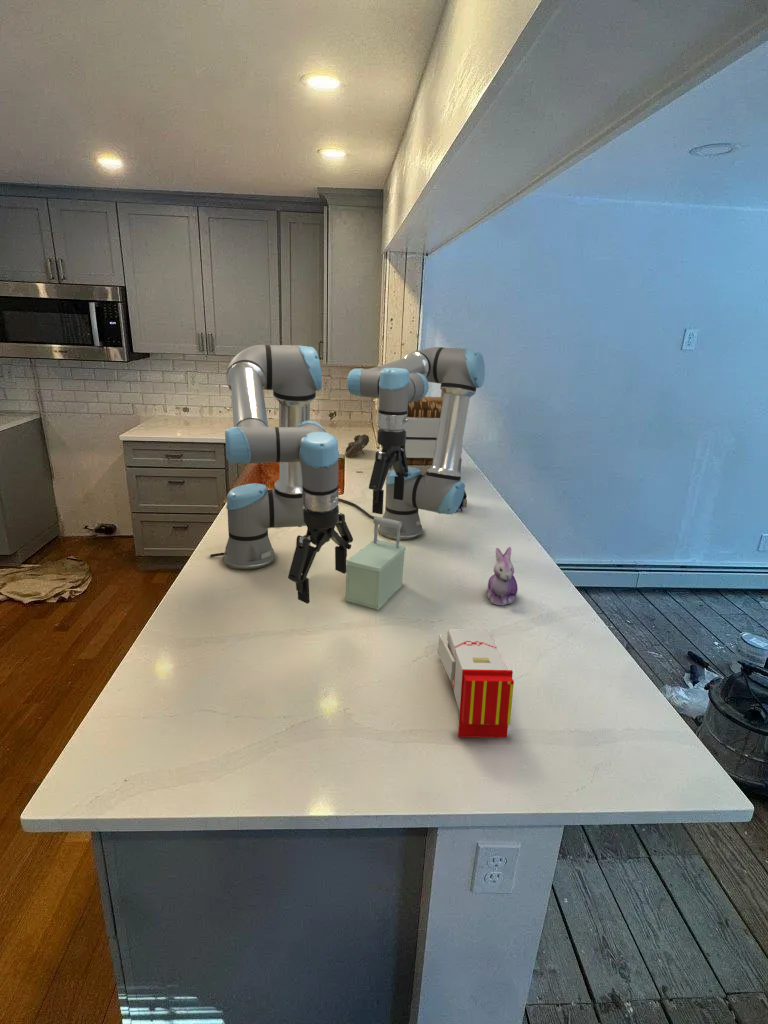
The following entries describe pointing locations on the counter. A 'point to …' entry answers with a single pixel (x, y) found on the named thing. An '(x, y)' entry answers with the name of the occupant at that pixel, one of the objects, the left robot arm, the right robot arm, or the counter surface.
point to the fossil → (357, 445)
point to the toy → (478, 682)
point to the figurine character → (463, 502)
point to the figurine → (502, 580)
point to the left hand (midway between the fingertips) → (323, 585)
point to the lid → (378, 549)
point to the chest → (374, 583)
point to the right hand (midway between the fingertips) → (388, 506)
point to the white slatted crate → (423, 431)
